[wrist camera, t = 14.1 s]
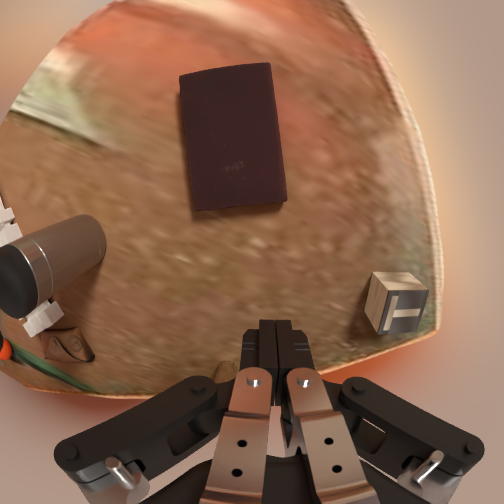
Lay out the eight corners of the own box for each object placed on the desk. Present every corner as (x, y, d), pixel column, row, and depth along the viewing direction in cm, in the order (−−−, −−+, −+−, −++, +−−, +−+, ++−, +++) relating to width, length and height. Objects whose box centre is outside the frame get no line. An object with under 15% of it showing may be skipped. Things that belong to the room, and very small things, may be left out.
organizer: (30, 337, 44) (-29, 210, 35) (41, 327, 49) (-16, 206, 40) (52, 324, 42) (-13, 179, 33) (65, 313, 46) (1, 176, 38)
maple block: (416, 331, 34) (399, 309, 41) (429, 290, 32) (408, 272, 39) (377, 334, 35) (364, 310, 41) (389, 291, 33) (372, 271, 39)
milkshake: (208, 367, 47) (197, 407, 37) (226, 353, 45) (218, 394, 36) (226, 380, 48) (218, 420, 38) (245, 367, 46) (240, 408, 37)
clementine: (4, 346, 54) (-8, 357, 48) (-2, 329, 52) (-15, 340, 45) (18, 356, 54) (6, 368, 48) (12, 339, 52) (-2, 351, 45)
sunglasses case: (78, 324, 46) (71, 353, 42) (98, 339, 52) (93, 366, 47) (36, 328, 49) (30, 351, 44) (54, 340, 54) (49, 363, 49)
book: (270, 68, 31) (270, 60, 28) (286, 199, 37) (288, 202, 34) (183, 82, 32) (176, 75, 29) (198, 208, 38) (192, 212, 35)
